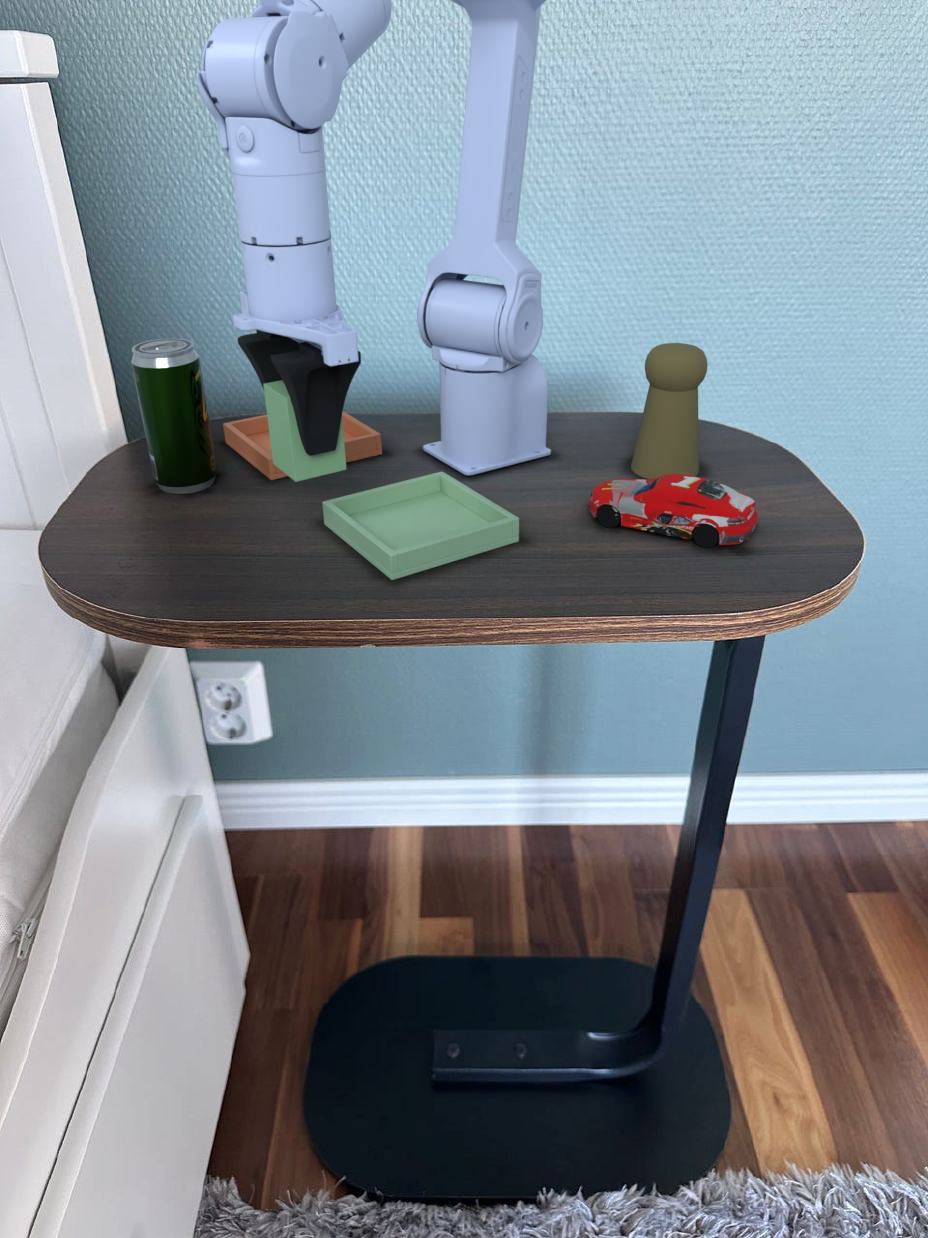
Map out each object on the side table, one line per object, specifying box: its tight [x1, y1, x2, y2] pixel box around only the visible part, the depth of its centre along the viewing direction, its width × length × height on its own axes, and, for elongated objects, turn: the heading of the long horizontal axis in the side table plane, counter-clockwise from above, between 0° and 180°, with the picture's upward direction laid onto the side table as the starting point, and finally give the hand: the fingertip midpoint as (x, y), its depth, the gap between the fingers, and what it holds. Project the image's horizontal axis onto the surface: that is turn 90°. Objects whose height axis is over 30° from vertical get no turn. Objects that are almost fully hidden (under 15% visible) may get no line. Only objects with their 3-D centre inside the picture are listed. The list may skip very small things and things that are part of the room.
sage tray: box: [321, 471, 520, 581], centre depth 74 cm, size 11×11×2 cm
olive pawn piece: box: [630, 342, 708, 480], centre depth 82 cm, size 6×6×11 cm
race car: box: [588, 474, 758, 549], centre depth 74 cm, size 13×5×4 cm, turn 61°
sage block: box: [263, 380, 347, 483], centre depth 67 cm, size 4×4×6 cm
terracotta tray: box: [222, 410, 383, 481], centre depth 90 cm, size 11×11×2 cm
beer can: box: [130, 337, 218, 495], centre depth 80 cm, size 5×5×12 cm
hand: (307, 441), depth 67 cm, fingers closed on sage block, 4 cm apart
